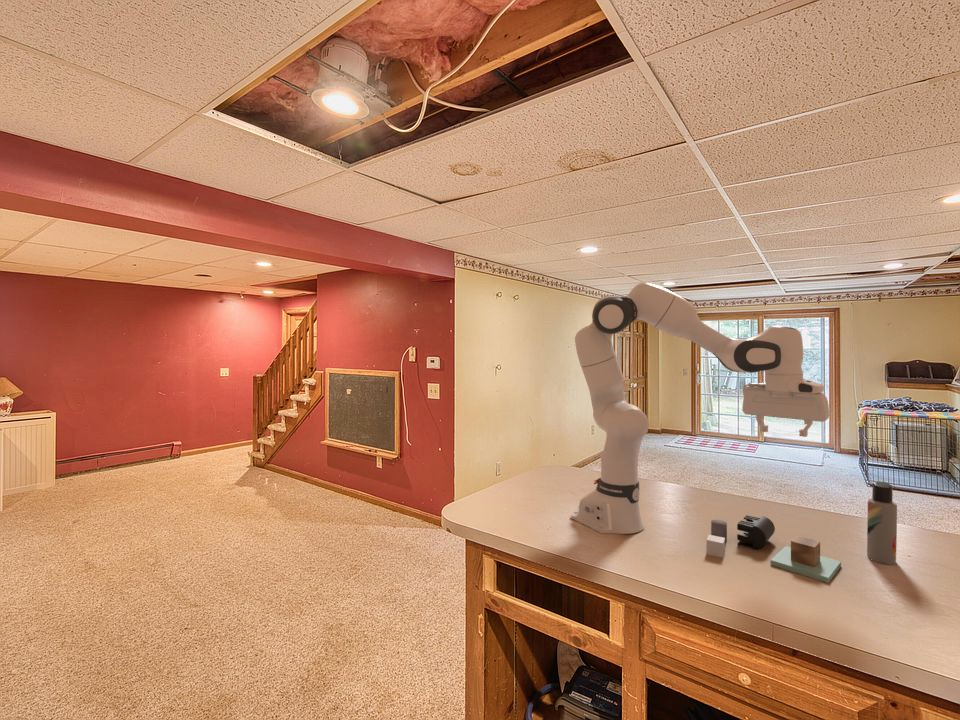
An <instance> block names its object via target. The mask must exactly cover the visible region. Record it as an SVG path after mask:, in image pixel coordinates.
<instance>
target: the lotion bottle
mask: <svg viewBox="0 0 960 720" xmlns="http://www.w3.org/2000/svg"><path fill="white" fill-rule="evenodd" d="M897 527H898V505H897V503H896V502H893V485H892V484H890V483H889V482H885V481H874V482H872V497H871V498H869V499H868V500H867V527H866V530H867V531H866V534H867V535H866V546H867V547H866V556H867V558H868V559H870V560H871V561H873V562H876V563H879V564H884V565H894V564H896V562H897V539H898V538H897V533H898V532H897V531H898V530H897V529H898V528H897Z"/></svg>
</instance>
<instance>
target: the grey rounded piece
mask: <svg viewBox="0 0 960 720" xmlns="http://www.w3.org/2000/svg"><path fill="white" fill-rule="evenodd" d="M710 521H711V523H710V525H711V526H710V527H711V528H710V532H711V533H710V535H713V536H718V537H723V538H725V543H727V541H728V533H727V532H728V523H727V522H726V521H724V520H721V519H713V520H710Z"/></svg>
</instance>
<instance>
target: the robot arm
mask: <svg viewBox="0 0 960 720" xmlns="http://www.w3.org/2000/svg"><path fill="white" fill-rule="evenodd" d="M591 319H592V321H591V323H590V324H589V325H587V326H585V327H583V328H581V329H580V330H579V331H577V333H576V334H575V336H574V343H575V344H574V345H575V349H576V353H577V358H578V362H579V365H580V367H581V370H582V373H583V375H584V379H585V381H586V385H587V387H588V390H589V394H590V395H589V396H590V400H591V405H592V415H593V416H592V417H593V420H594V421H595V423H596V425H597V426H598V428H599V429H601V430H602V431H604V432H605V434H606V438H605V442H604V449H603V450H602V452H601V454H600V477H599V478H597V479H596V480H593V485H596V484H597V485H596V486H595V487H596V488H594V489H593V490H592V491H590V492H589V493H587V494H586V495H584V496H582V498H581V499H580V501H579V504H578V509H576V510H574V511H573V512H572V513H571V519H572V520H574V521H576V522H578V523H580V524H582V525H585V526H587V527H588V528H590V529H592V530H594V531H597V532H598V533H600V534H604V535H605V534H621V535H622V534H623V535H625V534H626V535H627V534H636V533H639V532H641V531H643V530H644V524H643V520H642V517H641V516H642V515H641V510H640V504H639V502H640V501H639V500H640V481H639V454H640V448H641V445H642V440H643V438H644V437H645V435H646V434H647V432H648V431H649V426H650V425H649V424H650V423H649V419H648V417H647V415H646V413H644V412H643V410H642V409H640V408H639V407H638V406H636V405H634V404H631V403H628V401H627V400H626V397H625V390H624V382H625V378H624V374H623V371H622V369H621V365H620V364H619V361H618V357H617V355H616V351H615V349H614V345H613V342H612V339H613V337H612V336H613V335H615V334H618V333H621V332H622V331H624V330H625V329H627V328H628V326H630V324H632V323H633V322H634V321H635V320H640V321H642V322H644V323H647V324H648V325H649V326H652V327H654V328H656V329H658V330H659V331H662V332H664V333H666V334H669V335H672V336H674V337H678V338H682V339H685V340H688V341H691V342H692V343H693V344H695V345H697V346H699V347H701V348H702V349H703V350H706V351H707V352H709V353H710V354H713V356H715V357H716V358H717V360H718V361H719V362H720V364H721V365H722V366H723V367H724V368H725V369H727V370H729V371H731V372H735V373H741V372H742V373H749V374H754V373H758V372H764V383H763V382H762V383H760V382H759V383H754V382H749V383H748V384H745V385H744V386H743V387H742V396H743V401H742V408H741V409H742V412H743V414H744V415H746V416H747V415H749V416H755V421H756V422H757V424H759V426H760V432H762V433H764V432H765V433H767V432H769V425H767V424H765V422H764V420H763V419H764V418H765V417H770V418H781V419H788V420H789V419H792V420H800V421H801V420H802V421H804V422H803V425H805V427H803V428H800V429H799V431H798V432H799V433H798V434H799V435H798V436H799V437H802V438H803V437H804V438H806V437H808V434H809V433H808V430H809V429H810V428H811V427H812V425H813V422H820V423H824V422H826V421H828V420H829V418H830V408H829V401H828V398H827V395H825V394H824V393H823V391H824V390H825V386H824V384H822V383H821V382H820V383H819V382H816V381H812V380H809V379H806V378H804V371H803V368H802V365H803V364H802V363H803V360H804V344H803V338H802V337H803V336H802V333H801V332H800V330H798V329H797V328H795V327H791V326H781V325H772V326H769V327H768V328H766V329H764V331H761V332H759V333H757V334H756V335H753V336H751V337H749V336H748V337H747V338H736V337H729V336H726V335H725V334H723V333H721V332H719V331H717V330H716V329H714V328H712V327H711V326H709V325H708V324H705V323H704V322H703V321H702V320H701V318H700V316H699V315H698V310H697V308H696V306H694V305H693V304H692V303H691V302H689V301H688V300H687V299H685V298H684V297H682V296H680V295H679V294H677V293H675V292H672V291H671V290H669V289H667V288H664V287H662V286H659V285H656V284H653V283H649V282H646V281H645V282H639V283H638V284H636V285H635V286H634V287H633V288H631V290H630V292H629V293H628V294H627V295H625V296H619V295H615V294H610V295H606V296H603V297H601V298H599V300H597V302H596V303H595V304H594V306H593V310H592V313H591Z"/></svg>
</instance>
